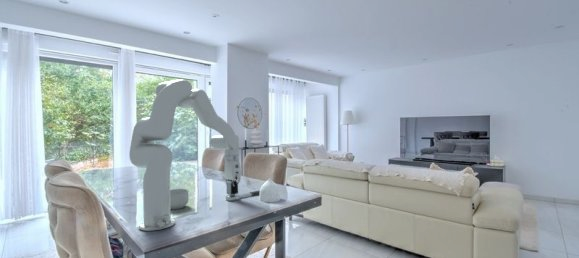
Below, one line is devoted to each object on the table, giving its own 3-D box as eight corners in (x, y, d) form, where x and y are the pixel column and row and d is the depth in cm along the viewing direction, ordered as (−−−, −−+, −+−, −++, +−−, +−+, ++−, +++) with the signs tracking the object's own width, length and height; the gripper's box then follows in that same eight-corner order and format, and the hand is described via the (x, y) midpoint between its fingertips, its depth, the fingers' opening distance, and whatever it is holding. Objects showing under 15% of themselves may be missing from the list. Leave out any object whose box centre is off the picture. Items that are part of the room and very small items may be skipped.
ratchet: (265, 194, 158) (265, 185, 158) (230, 202, 143) (229, 192, 143) (258, 192, 163) (258, 184, 163) (223, 199, 148) (223, 190, 148)
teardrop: (255, 201, 143) (255, 178, 143) (263, 196, 153) (263, 174, 154) (276, 202, 140) (275, 178, 140) (282, 197, 150) (282, 175, 150)
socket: (238, 193, 147) (238, 180, 147) (230, 194, 144) (230, 181, 145) (233, 192, 151) (233, 179, 151) (226, 193, 148) (226, 180, 148)
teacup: (192, 204, 139) (192, 188, 139) (182, 210, 128) (182, 193, 128) (166, 204, 140) (165, 188, 140) (153, 210, 129) (153, 193, 129)
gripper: (246, 158, 144) (247, 194, 144) (229, 156, 156) (230, 189, 156) (233, 159, 139) (234, 196, 139) (217, 157, 151) (218, 191, 151)
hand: (232, 192), depth 148 cm, fingers closed on socket, 4 cm apart
